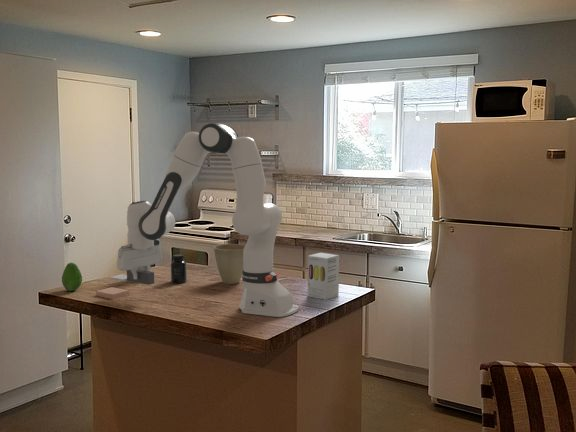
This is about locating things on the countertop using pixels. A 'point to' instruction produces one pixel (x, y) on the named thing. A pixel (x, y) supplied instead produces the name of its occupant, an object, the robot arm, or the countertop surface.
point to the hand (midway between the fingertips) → (140, 278)
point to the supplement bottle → (178, 269)
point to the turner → (144, 278)
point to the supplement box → (323, 276)
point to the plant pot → (229, 262)
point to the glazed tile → (112, 293)
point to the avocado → (71, 277)
